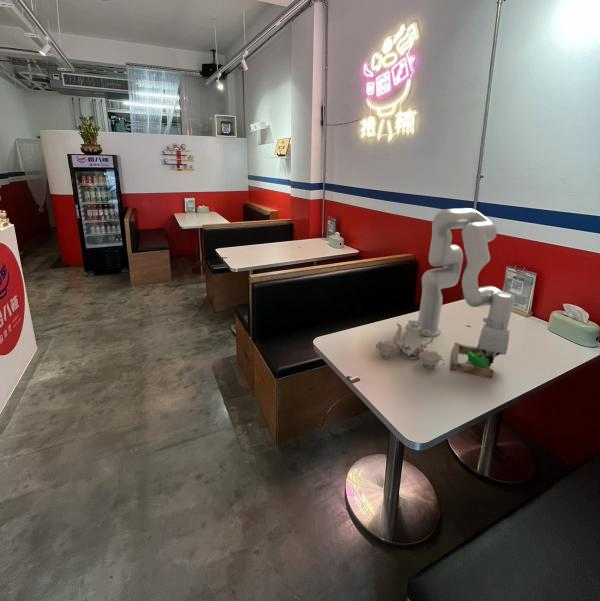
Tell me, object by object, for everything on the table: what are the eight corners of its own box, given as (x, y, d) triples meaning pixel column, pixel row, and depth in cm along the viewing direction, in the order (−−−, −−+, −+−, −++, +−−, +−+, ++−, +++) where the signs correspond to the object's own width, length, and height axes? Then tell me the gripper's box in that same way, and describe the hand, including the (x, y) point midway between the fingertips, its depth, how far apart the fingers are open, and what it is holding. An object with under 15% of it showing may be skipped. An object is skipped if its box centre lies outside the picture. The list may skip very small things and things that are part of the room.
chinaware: (371, 363, 154) (374, 329, 146) (378, 342, 168) (381, 310, 160) (442, 377, 145) (449, 341, 137) (443, 354, 159) (449, 321, 151)
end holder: (450, 369, 147) (451, 363, 146) (453, 348, 164) (454, 342, 163) (492, 379, 141) (493, 372, 140) (490, 355, 158) (492, 349, 157)
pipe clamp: (494, 372, 144) (493, 362, 143) (485, 375, 144) (484, 365, 142) (476, 357, 155) (475, 348, 153) (468, 360, 154) (467, 351, 153)
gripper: (476, 323, 143) (468, 364, 149) (520, 330, 137) (509, 373, 144) (476, 316, 149) (468, 356, 156) (518, 323, 144) (507, 364, 150)
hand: (488, 364), depth 150 cm, fingers closed
